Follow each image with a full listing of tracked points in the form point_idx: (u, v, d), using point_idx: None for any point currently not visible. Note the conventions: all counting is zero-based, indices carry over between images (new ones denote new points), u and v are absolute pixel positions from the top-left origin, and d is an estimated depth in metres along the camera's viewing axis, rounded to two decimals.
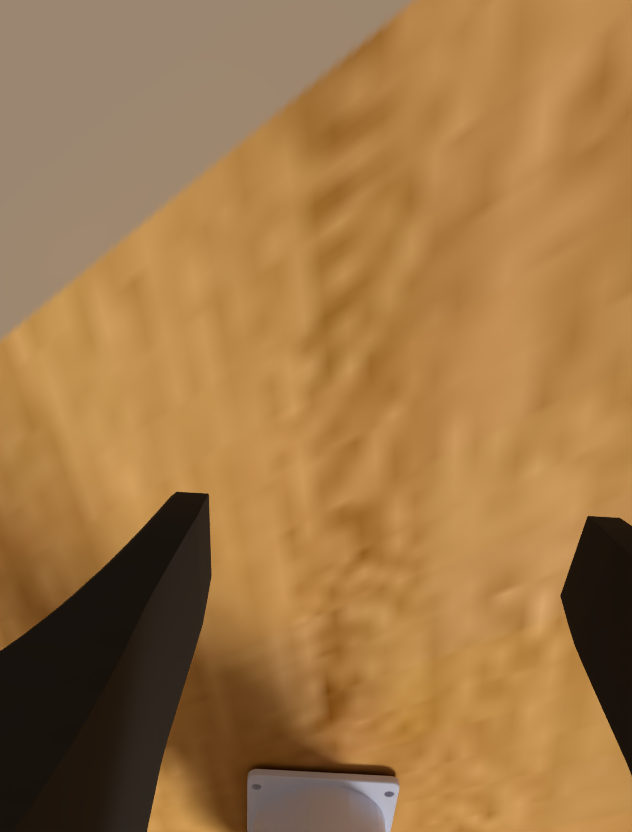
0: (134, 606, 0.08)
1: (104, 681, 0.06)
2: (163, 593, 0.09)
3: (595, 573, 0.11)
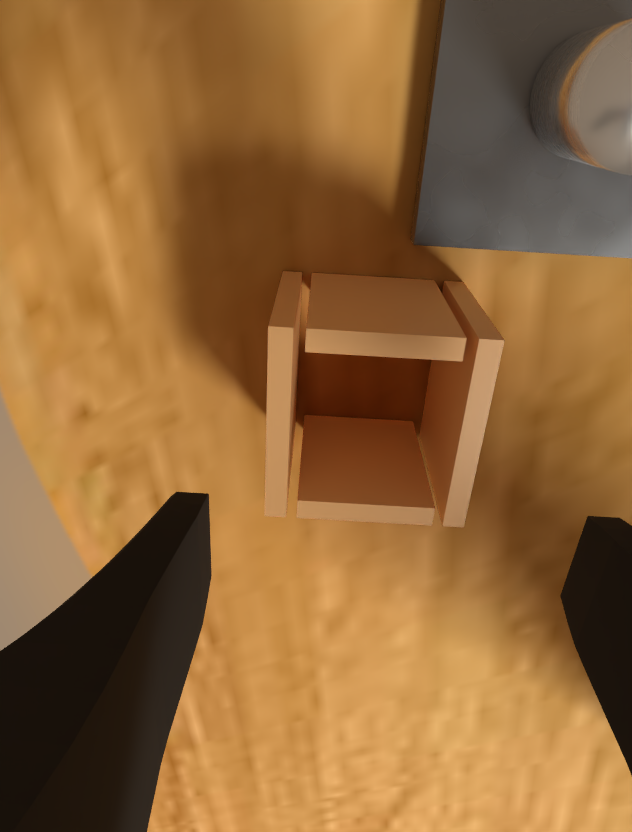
0: (134, 606, 0.08)
1: (104, 681, 0.06)
2: (163, 593, 0.09)
3: (595, 573, 0.11)
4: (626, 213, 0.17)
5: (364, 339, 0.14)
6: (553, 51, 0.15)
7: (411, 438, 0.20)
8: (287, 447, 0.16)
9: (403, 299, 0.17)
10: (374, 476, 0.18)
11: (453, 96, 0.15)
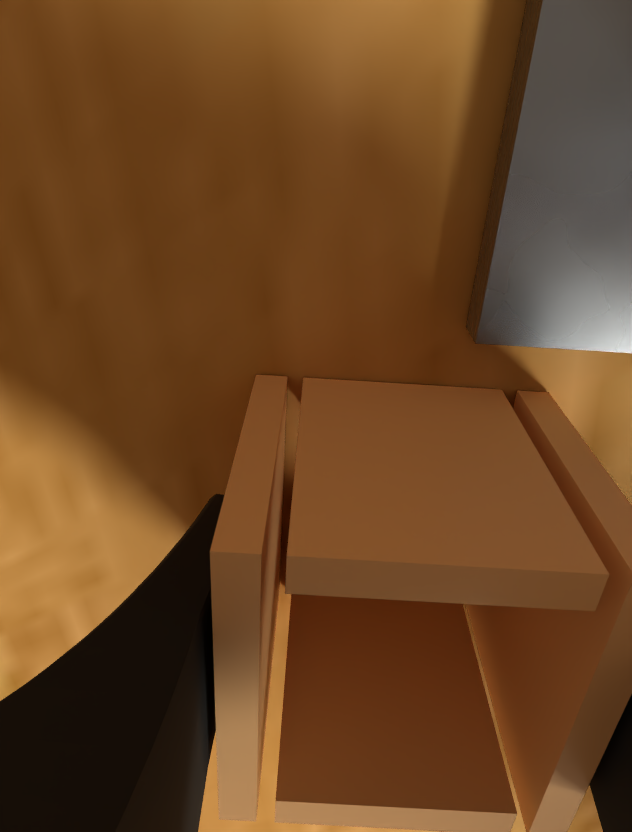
0: (190, 609, 0.08)
1: (171, 685, 0.06)
2: None
3: None
4: None
5: (404, 574, 0.07)
6: None
7: (458, 625, 0.13)
8: (255, 732, 0.09)
9: (461, 445, 0.09)
10: (406, 725, 0.11)
11: (562, 90, 0.08)
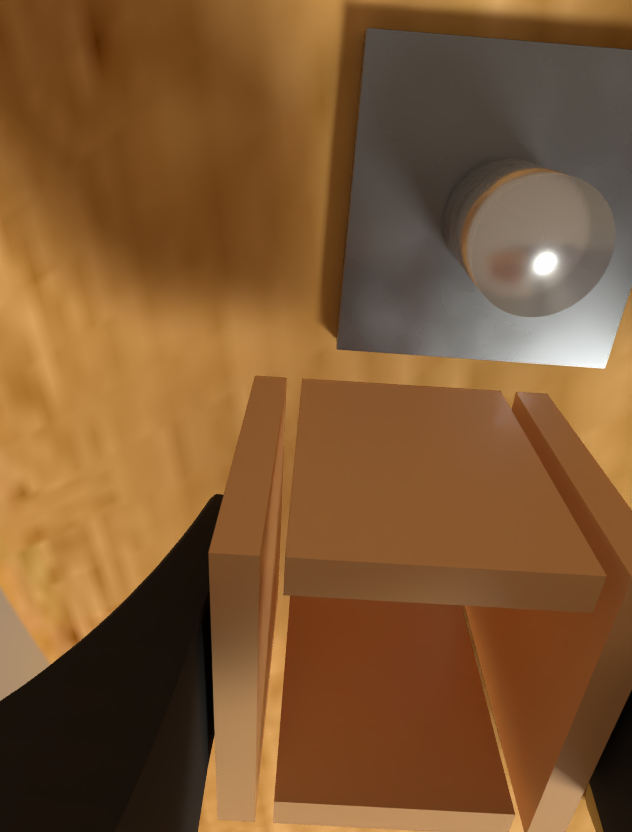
0: (190, 609, 0.08)
1: (172, 685, 0.06)
2: None
3: None
4: (541, 324, 0.17)
5: (402, 577, 0.07)
6: (463, 179, 0.15)
7: (457, 625, 0.13)
8: (254, 733, 0.09)
9: (460, 447, 0.10)
10: (405, 726, 0.11)
11: (368, 217, 0.16)
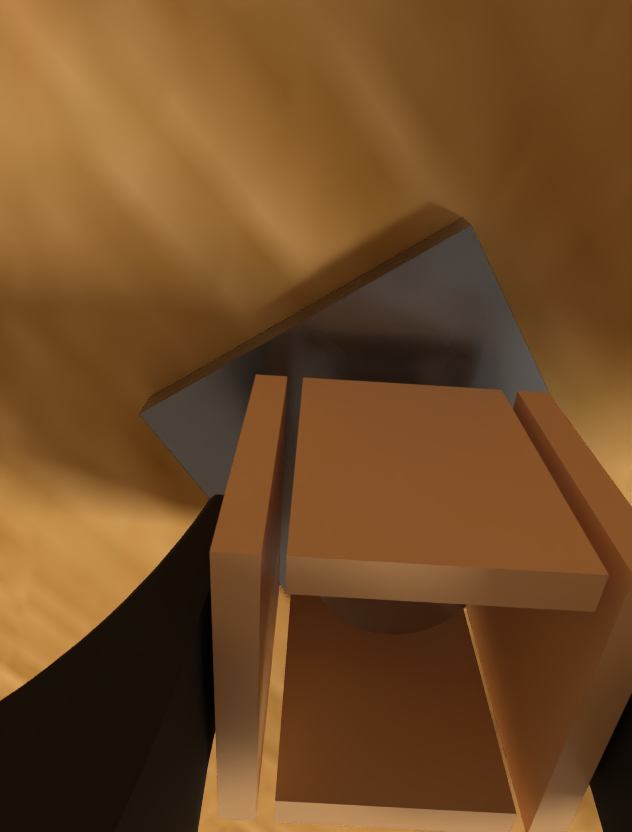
0: (190, 609, 0.08)
1: (171, 685, 0.06)
2: None
3: None
4: None
5: (404, 575, 0.07)
6: None
7: (458, 625, 0.13)
8: (255, 732, 0.09)
9: (461, 446, 0.09)
10: (406, 725, 0.11)
11: None
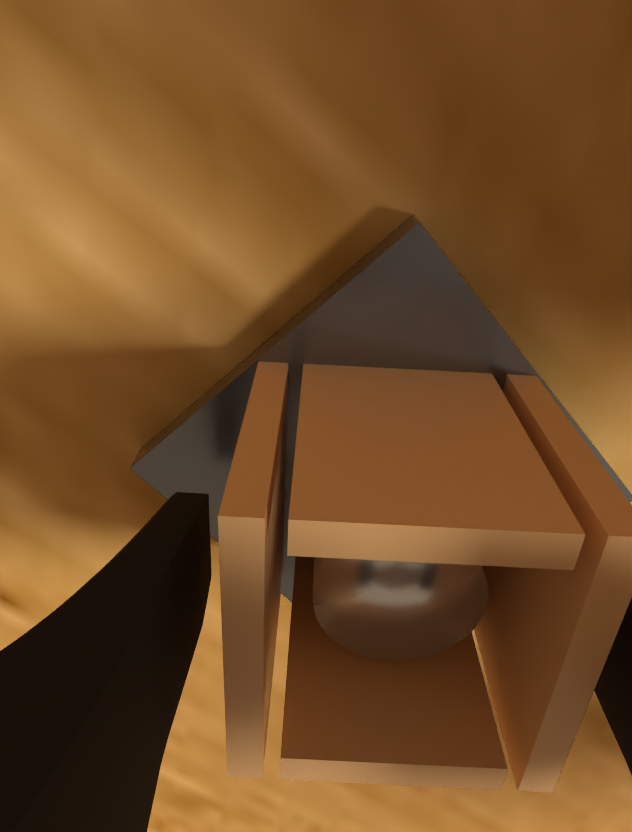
0: (134, 606, 0.08)
1: (104, 681, 0.06)
2: (163, 593, 0.09)
3: None
4: None
5: (396, 536, 0.08)
6: None
7: None
8: (261, 690, 0.09)
9: (452, 424, 0.10)
10: (403, 690, 0.11)
11: None
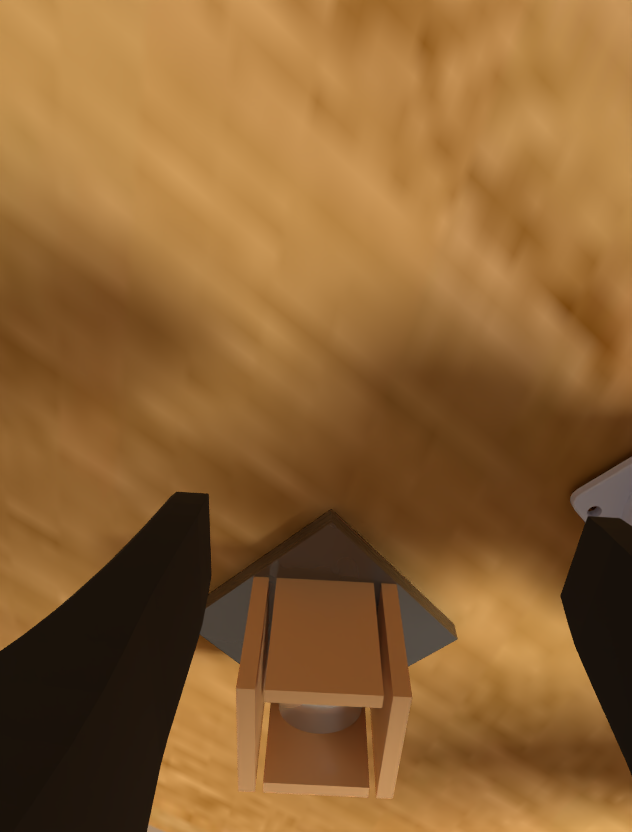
0: (134, 606, 0.08)
1: (104, 681, 0.06)
2: (163, 593, 0.09)
3: (595, 573, 0.11)
4: None
5: (308, 696, 0.19)
6: None
7: None
8: (253, 753, 0.21)
9: (344, 625, 0.21)
10: (325, 748, 0.23)
11: None
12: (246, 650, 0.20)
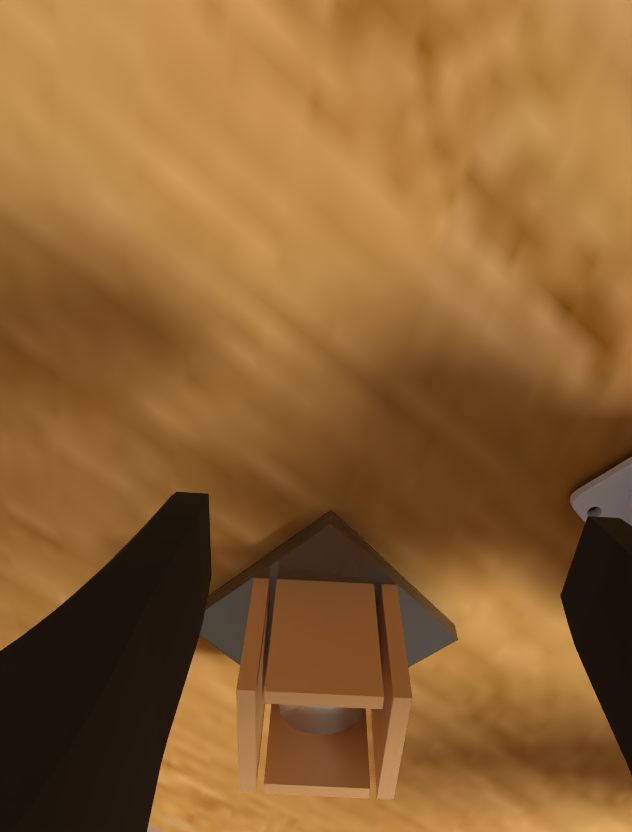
0: (134, 606, 0.08)
1: (104, 681, 0.06)
2: (163, 593, 0.09)
3: (595, 573, 0.11)
4: None
5: (308, 697, 0.19)
6: None
7: None
8: (254, 754, 0.21)
9: (344, 626, 0.21)
10: (326, 748, 0.23)
11: None
12: (246, 651, 0.20)
